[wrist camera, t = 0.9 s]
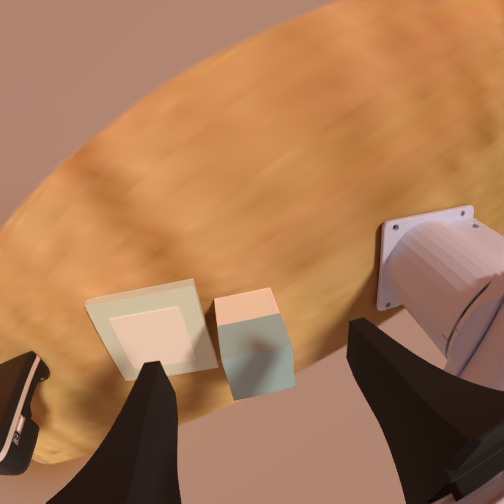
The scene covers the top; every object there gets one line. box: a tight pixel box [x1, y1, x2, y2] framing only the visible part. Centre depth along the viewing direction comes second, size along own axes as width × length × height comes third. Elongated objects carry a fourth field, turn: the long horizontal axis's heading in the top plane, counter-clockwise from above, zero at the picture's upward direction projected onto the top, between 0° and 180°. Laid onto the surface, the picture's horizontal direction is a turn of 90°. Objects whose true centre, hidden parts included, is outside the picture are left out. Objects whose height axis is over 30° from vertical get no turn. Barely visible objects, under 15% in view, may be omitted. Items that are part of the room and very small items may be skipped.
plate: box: [85, 278, 219, 381], centre depth 23 cm, size 8×8×1 cm
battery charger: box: [0, 351, 49, 475], centre depth 18 cm, size 7×4×11 cm, turn 113°
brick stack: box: [214, 287, 295, 400], centre depth 21 cm, size 4×4×6 cm
